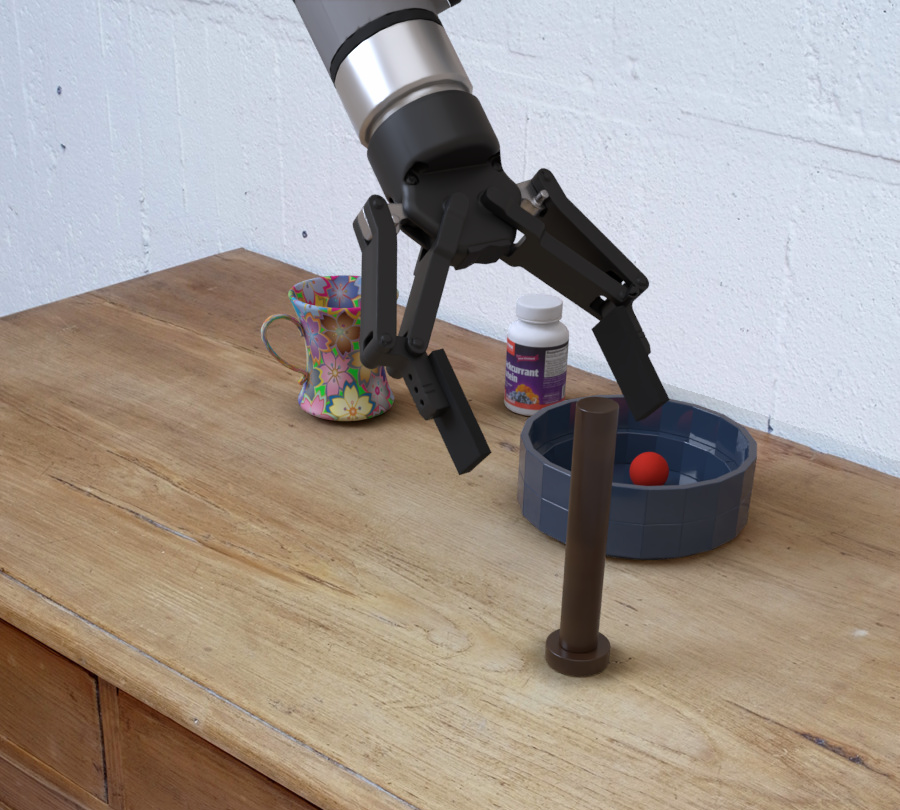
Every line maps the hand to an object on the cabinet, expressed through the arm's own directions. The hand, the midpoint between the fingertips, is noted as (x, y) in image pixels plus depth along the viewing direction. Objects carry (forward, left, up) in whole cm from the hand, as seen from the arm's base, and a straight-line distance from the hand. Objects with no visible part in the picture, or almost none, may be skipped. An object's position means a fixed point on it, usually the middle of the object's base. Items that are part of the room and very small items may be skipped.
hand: (568, 437), depth 76 cm
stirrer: (-1, +2, -14) cm, 14 cm away
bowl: (-9, -18, -14) cm, 25 cm away
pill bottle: (-5, -39, -14) cm, 42 cm away
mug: (+13, -39, -14) cm, 43 cm away
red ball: (-11, -20, -12) cm, 26 cm away
